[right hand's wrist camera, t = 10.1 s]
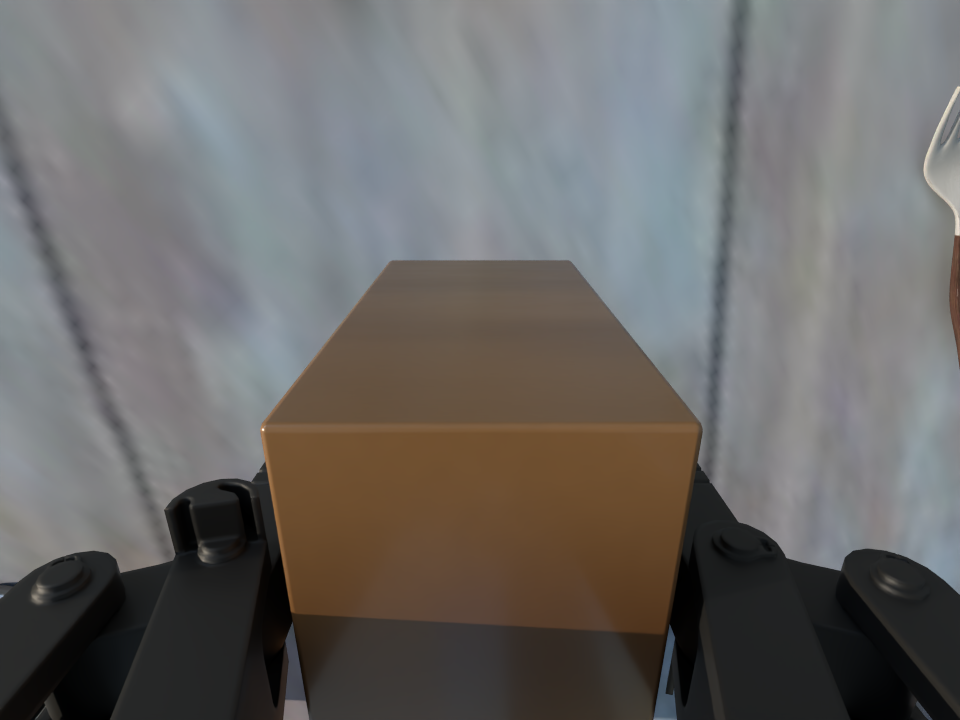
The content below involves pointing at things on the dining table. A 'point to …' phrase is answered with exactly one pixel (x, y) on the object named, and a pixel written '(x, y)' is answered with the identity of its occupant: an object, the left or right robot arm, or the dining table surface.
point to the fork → (948, 196)
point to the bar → (481, 501)
